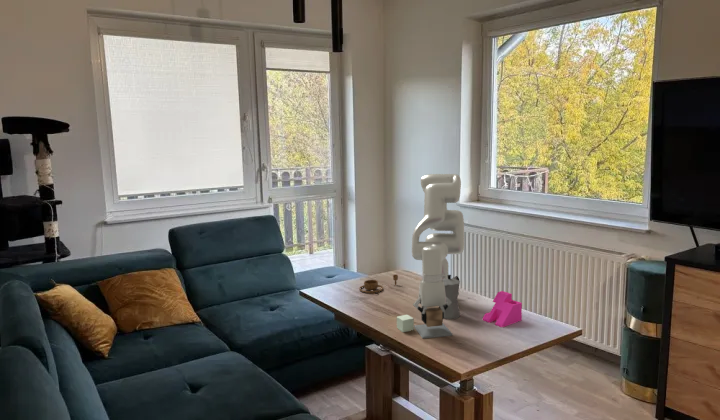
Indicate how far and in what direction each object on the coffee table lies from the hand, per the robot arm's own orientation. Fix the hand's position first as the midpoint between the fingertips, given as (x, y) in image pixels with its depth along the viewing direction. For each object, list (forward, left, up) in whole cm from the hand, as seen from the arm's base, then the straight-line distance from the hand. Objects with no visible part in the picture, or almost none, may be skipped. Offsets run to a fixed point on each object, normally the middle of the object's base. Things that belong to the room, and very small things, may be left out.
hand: (432, 321), depth 206 cm
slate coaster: (0, 0, -4) cm, 4 cm away
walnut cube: (0, 0, -1) cm, 1 cm away
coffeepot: (-13, -16, -4) cm, 21 cm away
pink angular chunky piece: (-31, -4, -5) cm, 32 cm away
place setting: (+10, -59, -5) cm, 60 cm away
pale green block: (+10, -5, -4) cm, 12 cm away
